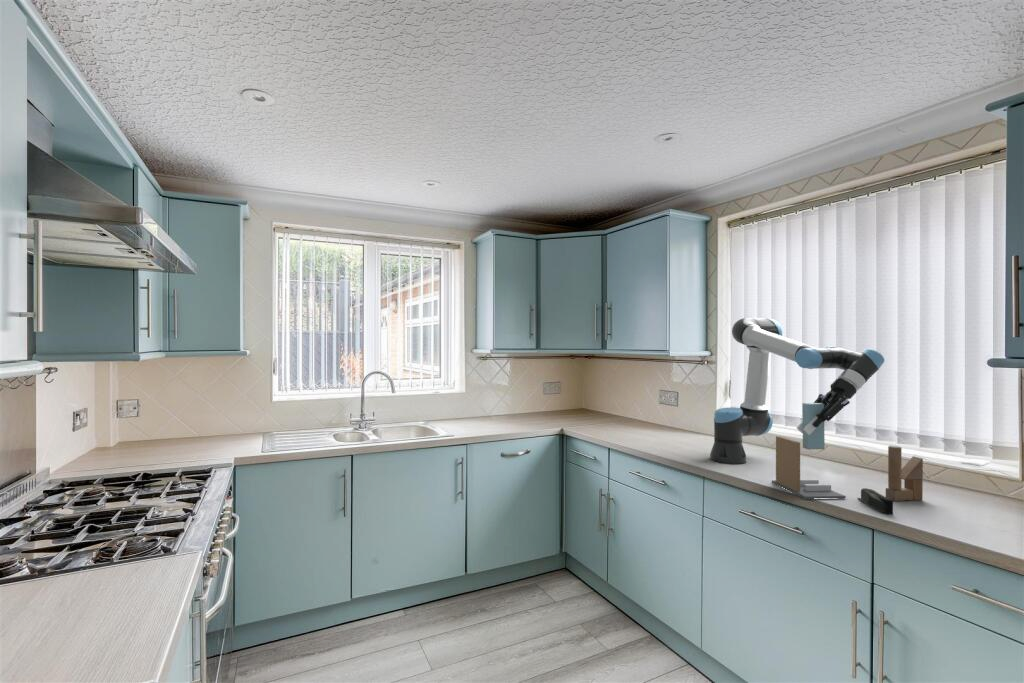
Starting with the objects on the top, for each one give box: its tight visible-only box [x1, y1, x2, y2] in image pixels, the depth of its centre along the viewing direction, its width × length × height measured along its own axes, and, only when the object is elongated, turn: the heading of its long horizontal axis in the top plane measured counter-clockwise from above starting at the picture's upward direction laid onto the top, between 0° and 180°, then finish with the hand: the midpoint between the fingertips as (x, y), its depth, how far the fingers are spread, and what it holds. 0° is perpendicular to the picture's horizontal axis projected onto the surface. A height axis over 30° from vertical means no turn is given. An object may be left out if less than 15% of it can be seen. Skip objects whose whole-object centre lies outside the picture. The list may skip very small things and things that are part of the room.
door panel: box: [801, 402, 826, 450], centre depth 177 cm, size 3×6×16 cm, turn 93°
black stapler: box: [857, 487, 894, 515], centre depth 159 cm, size 5×3×15 cm
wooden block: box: [885, 445, 924, 502], centre depth 168 cm, size 4×11×18 cm, turn 97°
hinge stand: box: [771, 435, 847, 500], centre depth 177 cm, size 20×14×18 cm
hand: (802, 431), depth 176 cm, fingers closed on door panel, 3 cm apart
